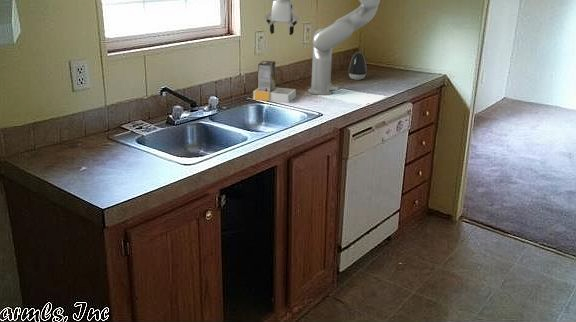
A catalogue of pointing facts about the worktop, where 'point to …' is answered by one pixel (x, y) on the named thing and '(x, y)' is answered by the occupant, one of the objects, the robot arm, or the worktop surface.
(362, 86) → the worktop surface
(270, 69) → the coffee box
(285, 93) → the rack
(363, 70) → the black rounded egg shape
